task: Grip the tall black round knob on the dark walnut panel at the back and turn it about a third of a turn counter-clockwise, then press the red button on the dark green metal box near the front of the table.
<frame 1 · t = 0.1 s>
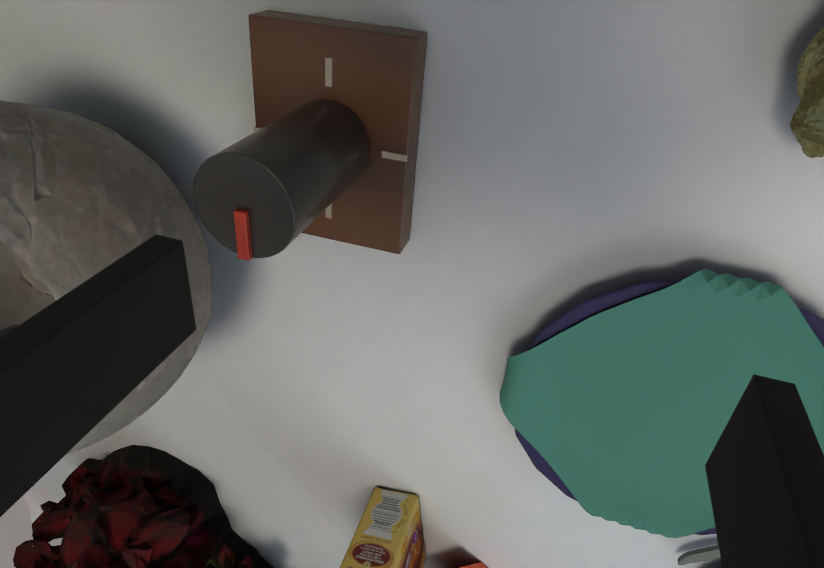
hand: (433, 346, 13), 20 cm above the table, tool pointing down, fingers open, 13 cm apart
panel: (343, 133, 33), on the table
flower arrangement: (216, 539, 62), on the table
bowl: (136, 217, 41), on the table
candy box: (400, 521, 51), on the table
cutlery set: (712, 454, 37), on the table
dial: (290, 172, 28), point 7 cm above the table, hinge at 0.0°
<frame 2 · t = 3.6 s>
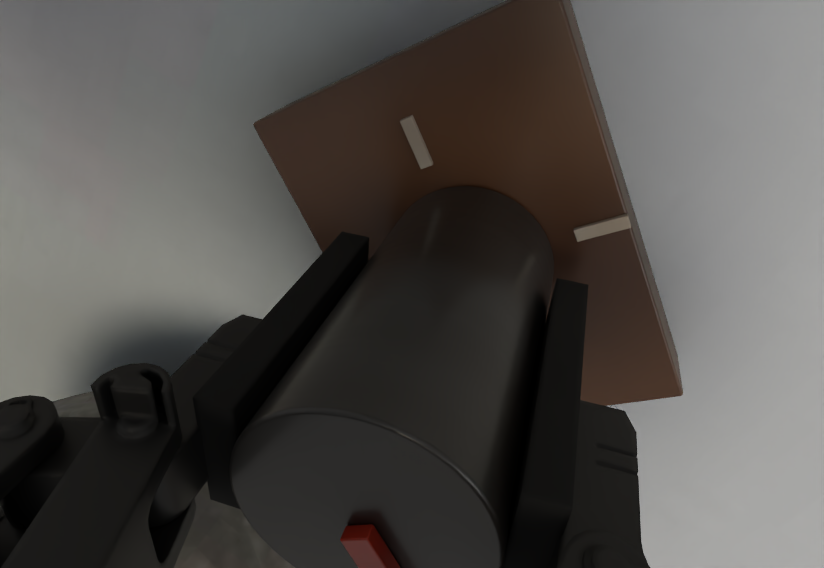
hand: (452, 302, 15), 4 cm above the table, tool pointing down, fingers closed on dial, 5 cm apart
panel: (483, 232, 18), on the table
bowl: (256, 470, 29), on the table
dial: (428, 360, 13), point 7 cm above the table, hinge at -0.1°, touching gripper
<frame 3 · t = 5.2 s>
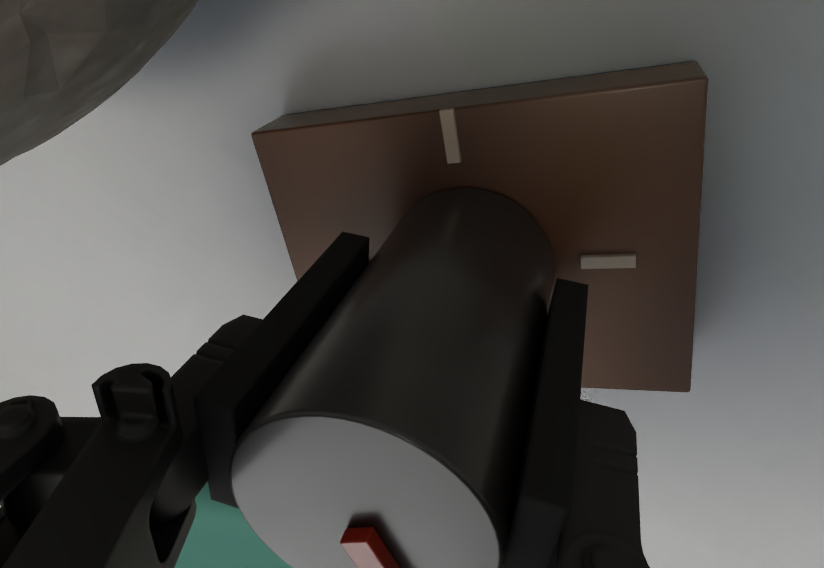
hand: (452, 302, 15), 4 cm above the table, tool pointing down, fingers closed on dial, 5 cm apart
panel: (483, 234, 18), on the table
dial: (428, 361, 13), point 7 cm above the table, hinge at 105.1°, touching gripper
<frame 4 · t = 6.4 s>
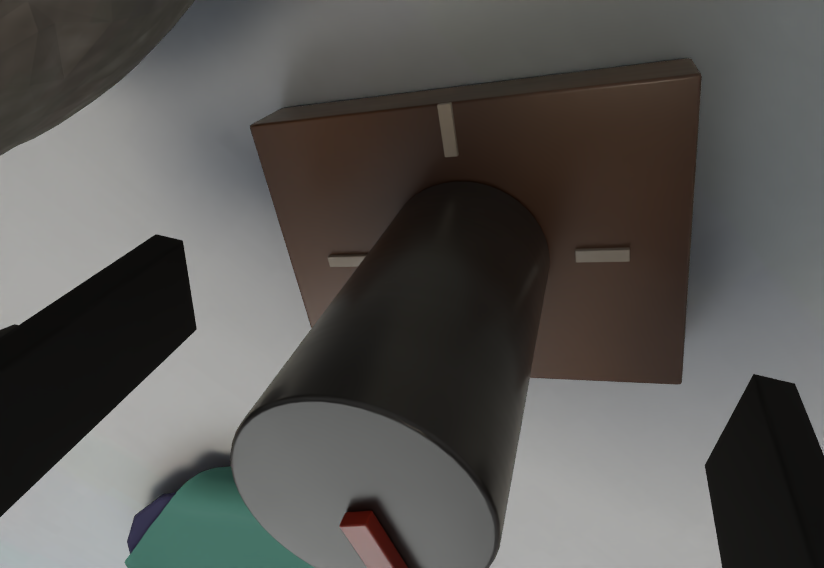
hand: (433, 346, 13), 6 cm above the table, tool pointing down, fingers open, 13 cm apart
panel: (479, 228, 19), on the table
dial: (425, 352, 13), point 7 cm above the table, hinge at 104.9°
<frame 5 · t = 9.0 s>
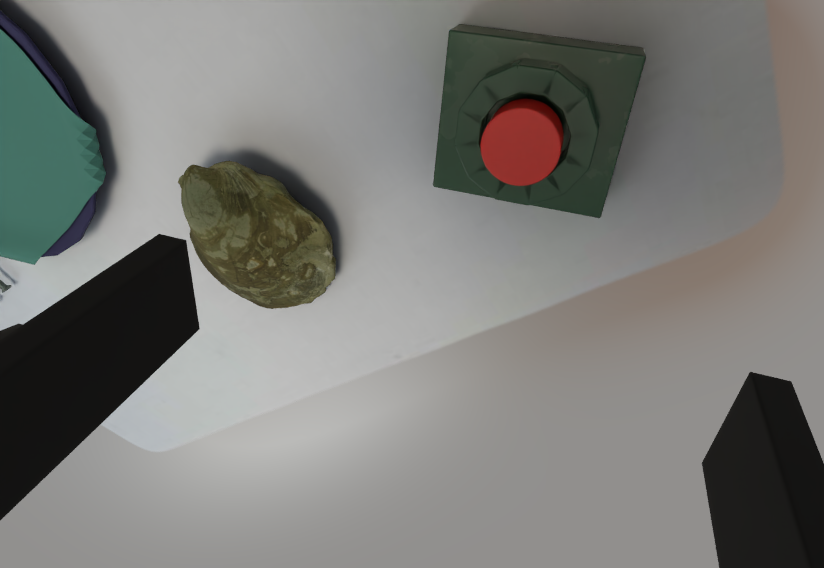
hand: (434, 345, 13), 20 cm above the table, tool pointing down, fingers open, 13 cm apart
start button: (522, 142, 27), point 4 cm above the table, slide at 0.1 cm
button box: (532, 116, 30), on the table
seashell: (267, 229, 39), on the table
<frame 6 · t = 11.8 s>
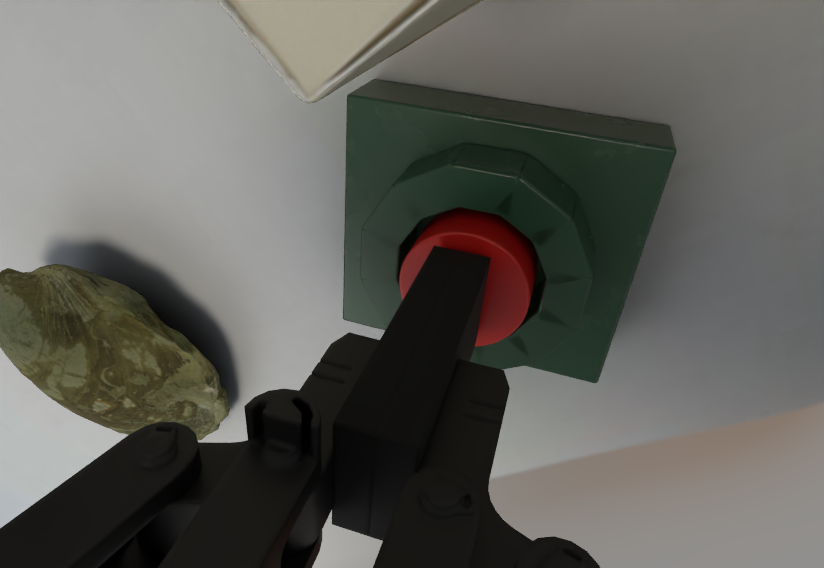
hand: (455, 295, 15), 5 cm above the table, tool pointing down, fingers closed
start button: (468, 277, 16), point 4 cm above the table, slide at -0.5 cm, touching gripper
button box: (493, 220, 19), on the table
seashell: (139, 341, 28), on the table
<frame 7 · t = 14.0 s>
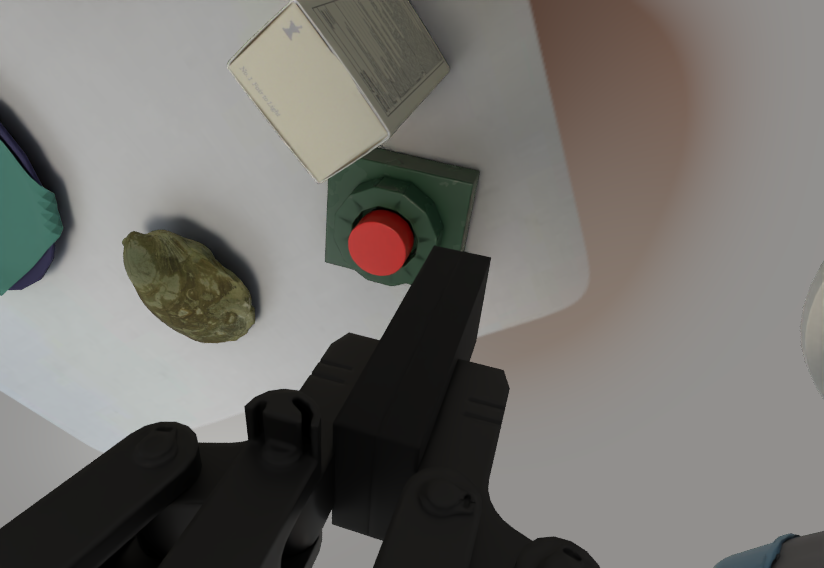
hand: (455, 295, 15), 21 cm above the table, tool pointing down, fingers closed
start button: (381, 242, 34), point 4 cm above the table, slide at 0.1 cm
button box: (402, 212, 38), on the table
seashell: (199, 278, 47), on the table
cosmetic box: (396, 44, 33), on the table
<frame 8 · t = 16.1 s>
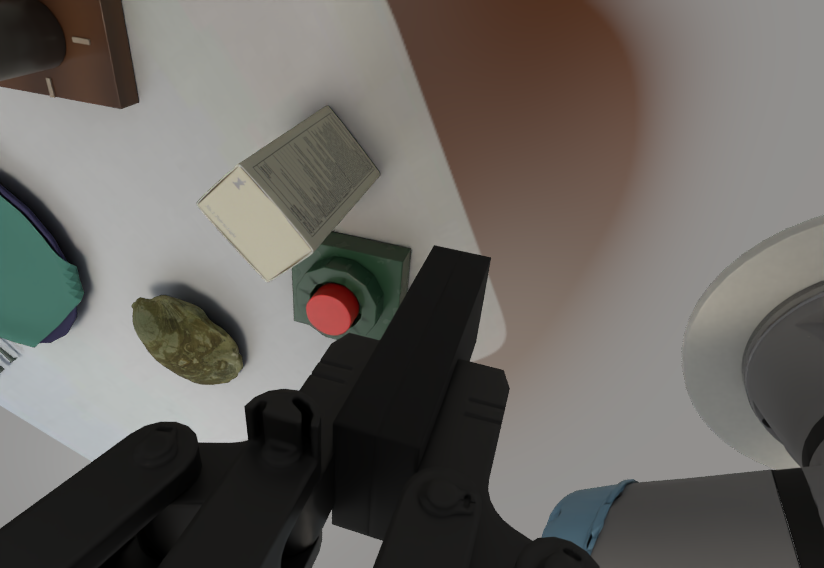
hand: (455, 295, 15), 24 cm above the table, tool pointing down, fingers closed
panel: (59, 29, 43), on the table
start button: (332, 309, 43), point 4 cm above the table, slide at 0.1 cm
button box: (354, 279, 47), on the table
seashell: (197, 331, 56), on the table
cosmetic box: (338, 155, 42), on the table
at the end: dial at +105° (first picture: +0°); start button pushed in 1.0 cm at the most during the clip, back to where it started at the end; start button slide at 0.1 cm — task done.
